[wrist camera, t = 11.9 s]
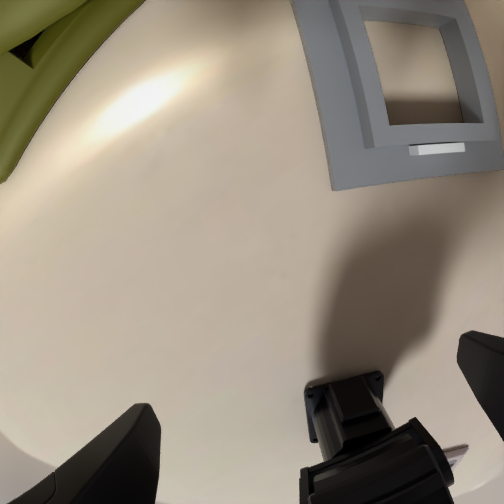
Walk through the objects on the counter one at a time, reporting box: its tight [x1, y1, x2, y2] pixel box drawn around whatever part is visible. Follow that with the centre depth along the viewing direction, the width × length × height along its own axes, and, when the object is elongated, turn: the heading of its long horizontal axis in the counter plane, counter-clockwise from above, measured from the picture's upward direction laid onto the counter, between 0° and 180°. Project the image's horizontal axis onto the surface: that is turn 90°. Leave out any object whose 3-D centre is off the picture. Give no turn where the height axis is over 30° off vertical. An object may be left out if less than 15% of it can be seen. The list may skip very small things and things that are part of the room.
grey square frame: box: [290, 0, 504, 191], centre depth 16 cm, size 15×15×2 cm
